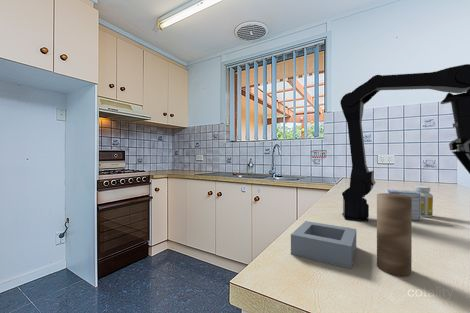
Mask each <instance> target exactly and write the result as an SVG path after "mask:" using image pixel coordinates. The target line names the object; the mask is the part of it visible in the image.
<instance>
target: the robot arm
mask: <svg viewBox="0 0 470 313" xmlns="http://www.w3.org/2000/svg"><path fill="white" fill-rule="evenodd" d="M397 90H398V91H402V90H403V91H405V90H406V91H407V90H408V91H409V90H434V91H437V92H443V93H447V94H446V95H445V97H444V98H443V99H442V100H441V101H440V104H441V105H445V104H451V109H452V110H451V111H452V115H453V116H452V117H453V121H454V122H453V123H452V128H455V133H456V138H455V139H454V140H451V141H450V142H449V144H448V146H449V150H450V151H451V153H452V154H453V155H454V157H456V159H457V160H458V161H459V163H461V165H462V166H463V167H464V169H465V170H466V171H467V172H468V174H469V175H470V63H466V64H461V65H455V66H450V67H447V68H443V69H440V70H437V71H431V72H416V73H400V74H399V73H398V74H384V75H381V74H375V75H373V76H372V77H371V78H369V79H368V80H367V81H365V82H364V83H362V84H360V85H359V86H357V87H356V88H355V89H353V91H352V92H347V93H345V94H344V95H343V96H341V97H342V98H340V107H341V109H342V110H341V111H342V113H343V114H342V115H343V116H344V118H345V121H346V123H347V124H346V125H347V132H348V140H349V149H350V158H351V172H350V176H349V177H350V178H349V187H348V188H346V189H345V190H344V191H343V192H341V194H342V199H343V200H342V213H341V215H342V217H343V219H344V220H353V221H365V222H366V221H367V222H369V217H370V216H369V214H370V213H369V211H370V206H369V204H368V202H367V199H366V197H365V196H367V195H369V193H370V192H371V191H373V188H374V185H376V181H375V178H374V176H375V171H374V170H369V167H368V164H367V159H366V151H365V150H366V149H365V143H364V142H365V141H364V134H363V133H364V132H363V125H362V121H363V114H364V106H365V105H366V104H367V103H368V102H369V101H370V100H371V99H372V98H374V96H376V94H378V93H379V92H380V91H397Z"/></svg>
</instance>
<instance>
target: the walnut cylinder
mask: <svg viewBox="0 0 470 313" xmlns="http://www.w3.org/2000/svg"><path fill="white" fill-rule="evenodd" d="M412 222H413V220H412V197H410V196H407V195H400V194H389V193H388V192H387V193H377V194H376V267H377V268H378V269H379V270H381V272H383V273H386V274H387V275H392V276H395V277H403V278H405V277H406V278H407V277H410V276H412V268H413V267H412V262H413V261H412V260H413V259H412V252H413V251H412V250H413V248H412V243H413V242H412V241H413V240H412V233H413V232H412V231H413V230H412V228H413V227H412Z"/></svg>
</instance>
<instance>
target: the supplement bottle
mask: <svg viewBox="0 0 470 313" xmlns="http://www.w3.org/2000/svg"><path fill="white" fill-rule="evenodd" d="M414 191H417V192H419V193H421V218H432V217H433V212H434V210H433V209H434V208H433V206H434V205H433V204H434V203H433V202H434V196H433V194H432V193H430V192H431V187H430V186H424V185H416V186H414Z"/></svg>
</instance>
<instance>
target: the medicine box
mask: <svg viewBox="0 0 470 313" xmlns="http://www.w3.org/2000/svg"><path fill="white" fill-rule="evenodd" d="M387 193H389V194H400V195H407V196H410V197H412V221H421V219H422V217H421V193H419V192H417V191H415V190H409V189H408V190H407V189H406V190H405V189H387Z"/></svg>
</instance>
